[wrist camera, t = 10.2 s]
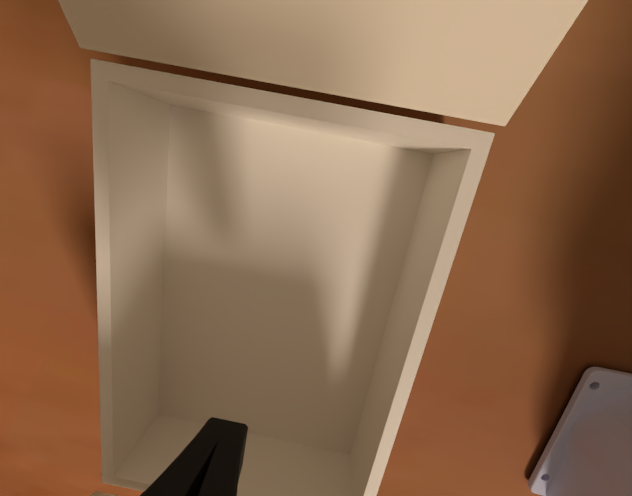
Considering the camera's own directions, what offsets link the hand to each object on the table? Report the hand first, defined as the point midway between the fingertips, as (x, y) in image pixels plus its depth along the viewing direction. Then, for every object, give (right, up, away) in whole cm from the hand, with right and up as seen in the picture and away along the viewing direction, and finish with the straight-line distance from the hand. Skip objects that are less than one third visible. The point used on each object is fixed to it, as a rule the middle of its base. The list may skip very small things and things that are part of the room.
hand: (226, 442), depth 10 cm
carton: (+1, +4, +7) cm, 8 cm away
